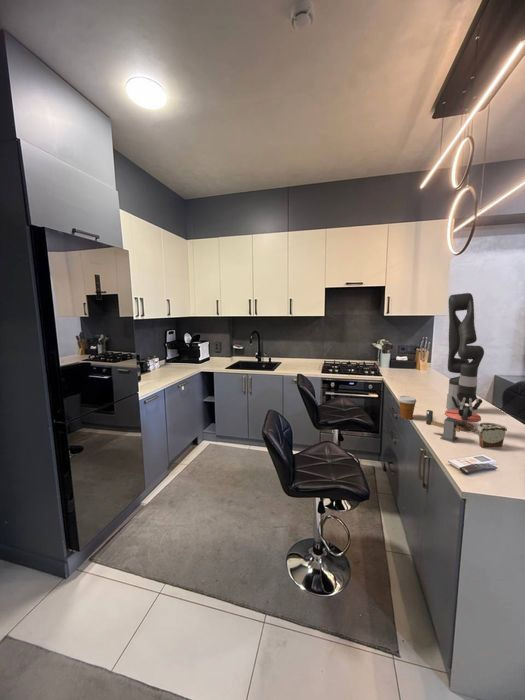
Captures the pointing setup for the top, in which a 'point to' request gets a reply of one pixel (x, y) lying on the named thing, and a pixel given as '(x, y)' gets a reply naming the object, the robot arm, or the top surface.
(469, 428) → the pedestal
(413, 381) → the top surface
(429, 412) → the hook
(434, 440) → the top surface
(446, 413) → the handwheel
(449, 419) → the eye block
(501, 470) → the top surface
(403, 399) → the disposable coffee cup
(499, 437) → the food container
